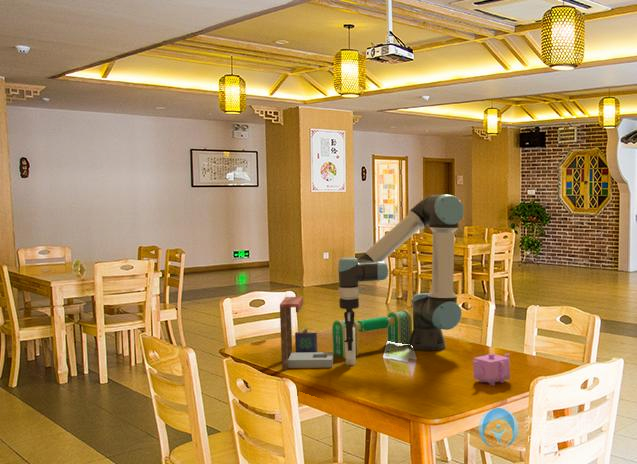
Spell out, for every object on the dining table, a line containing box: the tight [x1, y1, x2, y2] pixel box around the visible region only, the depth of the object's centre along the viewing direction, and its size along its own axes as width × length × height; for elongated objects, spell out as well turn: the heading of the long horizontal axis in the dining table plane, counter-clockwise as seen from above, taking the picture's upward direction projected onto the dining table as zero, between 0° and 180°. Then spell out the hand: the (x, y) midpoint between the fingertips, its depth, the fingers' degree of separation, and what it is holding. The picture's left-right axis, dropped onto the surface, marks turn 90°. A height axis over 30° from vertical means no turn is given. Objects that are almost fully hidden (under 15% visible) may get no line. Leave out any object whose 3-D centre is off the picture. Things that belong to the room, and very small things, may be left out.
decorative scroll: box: [331, 309, 413, 359], centre depth 286 cm, size 36×8×15 cm, turn 122°
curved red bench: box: [279, 296, 304, 371], centre depth 265 cm, size 7×18×25 cm, turn 176°
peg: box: [345, 328, 357, 366], centre depth 262 cm, size 4×4×14 cm
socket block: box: [288, 351, 335, 369], centre depth 265 cm, size 17×12×3 cm
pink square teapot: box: [472, 353, 511, 386], centre depth 233 cm, size 18×13×10 cm
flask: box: [294, 327, 319, 353], centre depth 282 cm, size 9×3×11 cm, turn 88°
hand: (350, 355), depth 263 cm, fingers open, 7 cm apart
